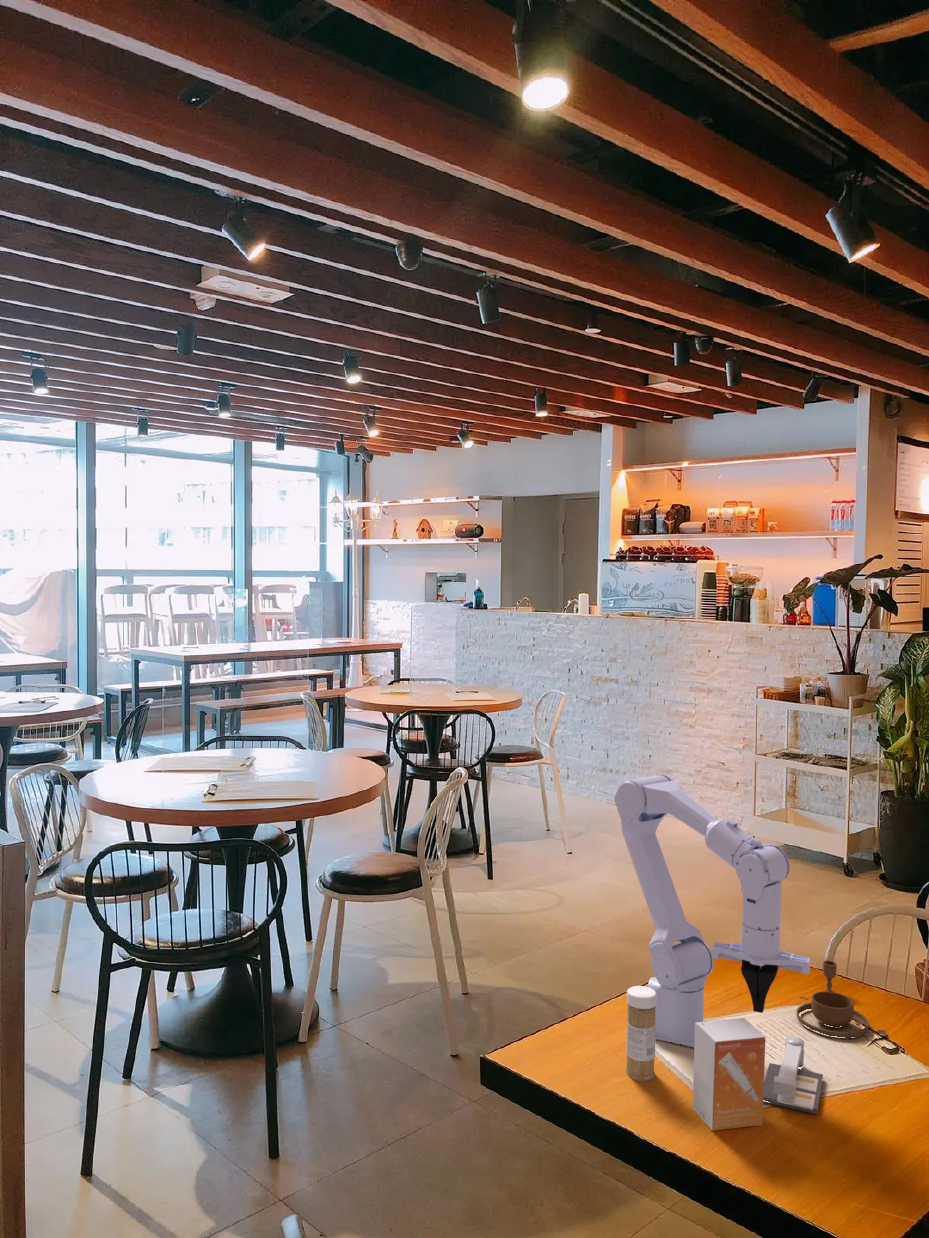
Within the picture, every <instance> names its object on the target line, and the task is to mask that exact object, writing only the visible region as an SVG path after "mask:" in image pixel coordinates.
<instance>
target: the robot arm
mask: <svg viewBox="0 0 929 1238" xmlns="http://www.w3.org/2000/svg"><path fill="white" fill-rule="evenodd" d="M613 801H614V804H615V807H616V810H617V812H618V815H619V818H620V822H621V823H620V824H621V832H622V837H623V838H624V842H625V844H626V847H627V850H628V853H629V857H630V859H631V862H632V865H633V867H634V870H635V873H636V876H637V879H638V881H639V882H638V883H639V885H640V887H641V888H640V889H641V890H642V891H641V892H642V893H643V897H644V900H645V902H646V906H647V908H648V911H649V913H650V917H651V919H652V922H653V923H652V924H653V926H654V929H655V932H654V934H653V936H652V938H651V940H650V942H649V944H648V948H649V951H650V955H651V957H650V958H651V970H652V972H653V975H654V977H653V976H651V977H650V978H649V980H648V984H647V987H649V988H651V989H653V990H655V992H656V994H657V1004H656V1008H655V1024H656V1033H655V1040H658V1041H662V1042H668V1043H671V1042H672V1043H673V1044H675V1045H680V1044H682V1045H681V1046H685V1047H690V1048H694V1043H695V1023H696V1022H704V1011H705V1010H704V1007H705V983H707V980H708V977H707V976H708V975H711V973H712V972H713V970H714V967H715V960H719V959H725V960H730V961H736V962H741V967H740V972H741V975H742V976H743V979H744V980H745V982H746V985H747V988H748V990H749V994H750V998H751V1002H752V1010H753V1012H754V1013H760V1014H763V1013H764V1010H765V1004H766V999H767V995H768V994H769V993H768V992H769V991H770V988H771V986H772V985H773V982H774V981H775V979H776V977H777V975H778V974H777V973H778V971H779V969H784V970H790V971H794V972H800V973H801V974H802V975H809V974H810V970H811V966H810V964H811V958H810V957H808V956H806V957H805V956H802V955H797V954H794V953H791V952H788V951H784V950H781V923H782V918H781V917H782V888H783V887H782V886H783V885H782V884H783V883H782V881H784V880H786V879H787V878H788V876H789V874H790V871H791V870H790V869H791V865H790V860H789V857H788V856H787V854H786V853H785V851H783V849H781V848H780V846H779V845H776V844H773V843H772V844H771V843H769V844H764V843H763V842H762V841H761V840H760V839H759V838H758V837H753V836H752V835H750V834H749V833H747V832H746V830H744V829H742V828H741V827H739V822H737V821H736V820H734V819H728V818H721V819H717V818H715V816H713V815H712V814H711V813H709V812H708V811H707V810H706V809H705V808H704V807H702V806H701V805H700V804H699V803H697V801H695V800H694V799H693V798H691V796H689V795H688V794H687V793H686V792H684V791H683V790H682V787H681V784H680V783H679V782H678V781H676V780H674V779H672V777H671V776H669V775H668V774H664V773H658V774H655V775H651V776H645V777H639V778H634V779H633V778H632V779H631V778H628V779H623V780H622V781H621V782H620V783H619V785H618V787H617V790H616V792H615V794H614V797H613ZM668 814H670V815H671V816H672V817H674V818H675V819H678V821H680V822H682V823H683V824H685V825H686V826H688V827H689V828H691V829H692V830H694V831H696V833H698V834H700V835H702V836H703V837H704V840H705V841H704V842H705V845H706V847H707V848H708V849H709V850H710V851H711V852H712V853H714V854H715V855H717V856H718V857H719V858H720V859H722V861H724V862H726V863H727V864H728V865H730V866H731V867H732V868H734V869H735V873H736V876H737V878H738V880H739V881H740V885H741V886H740V887H741V888H740V890H741V891H740V892H741V893H742V918H741V919H742V921H741V923H742V925H741V943H726V942H725V943H724V942H723V943H721V942H714V943H713V944H712V947H710V945H709V944H708V943H707V941H705V939H704V937H703V935H702V932H701V930H700V929H699V928H698V927H697V926H695V925H693V924H692V923H690V922H688V921H687V919H686V915H685V914H684V910H683V907H682V905H681V902H680V899H679V896H678V894H677V893H678V892H677V890H676V887H675V885H674V882H673V879H672V877H671V874H670V870H669V868H668V865H667V862H666V860H665V857H664V854H663V851H662V848H661V845H660V843H659V840H658V837H657V834H656V831H657V829H658V827H659V825H660V823H661V822H662V821H663V820H664V818H665V817H666V816H668ZM676 942H679V943H678V944H674V943H676Z"/></svg>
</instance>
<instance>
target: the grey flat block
mask: <svg viewBox="0 0 929 1238" xmlns="http://www.w3.org/2000/svg"><path fill="white" fill-rule="evenodd" d="M804 1058H805V1053H804V1054H803V1055H801V1058H800V1062H799V1067H802V1066H803V1065H804ZM804 1066H805V1065H804ZM804 1066H803V1067H804ZM780 1068H781V1064H776V1063H771V1062H769V1064H768V1067H767V1071H766V1074H765V1076H764V1096H763V1100H765V1101H768V1102H770V1103H772V1104H771V1105H773V1104H775V1105H774V1106H778V1107H782V1106H783V1108H787V1109H791V1110H795V1111H800V1112H804V1113H808V1114H814V1115H816V1116H817V1115H818V1110H819V1104H820V1098H821V1092H822V1088H821V1086H822V1087H823V1082H822V1079H823V1080H824V1074H823V1073H819V1072H813V1071H810V1070H804V1069H801V1070H800V1069H798V1071H797V1076H796V1095H795V1098H793V1097H789V1096H784V1095H780V1094H775V1093H773V1088H774V1078H775V1076H777V1077H778V1075H779V1071H780Z"/></svg>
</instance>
